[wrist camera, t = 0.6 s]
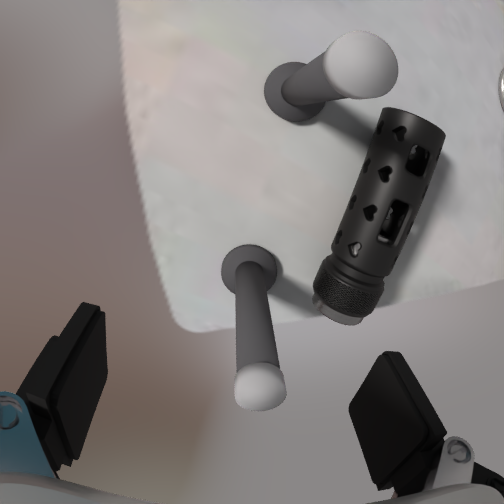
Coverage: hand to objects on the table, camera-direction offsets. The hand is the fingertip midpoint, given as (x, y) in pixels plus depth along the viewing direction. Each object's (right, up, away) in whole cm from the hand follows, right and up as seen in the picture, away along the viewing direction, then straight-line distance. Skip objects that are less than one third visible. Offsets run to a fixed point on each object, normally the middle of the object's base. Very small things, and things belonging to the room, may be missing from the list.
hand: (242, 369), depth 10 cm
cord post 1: (0, +1, +38) cm, 38 cm away
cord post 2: (+6, +25, +28) cm, 38 cm away
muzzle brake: (+16, +10, +35) cm, 40 cm away
